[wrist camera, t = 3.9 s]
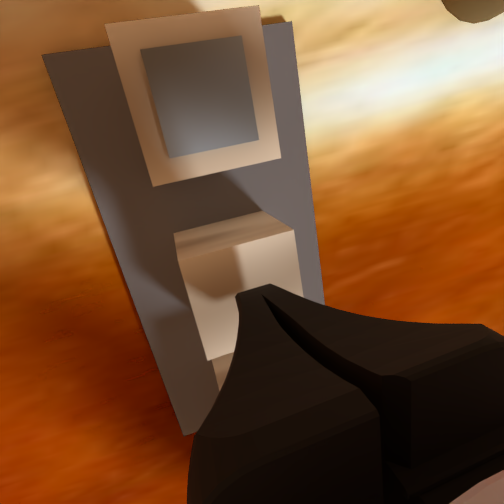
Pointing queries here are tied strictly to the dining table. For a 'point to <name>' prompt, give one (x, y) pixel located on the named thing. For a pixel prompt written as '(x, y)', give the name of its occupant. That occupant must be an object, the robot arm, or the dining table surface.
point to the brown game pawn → (474, 9)
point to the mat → (182, 205)
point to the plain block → (233, 271)
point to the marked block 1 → (197, 91)
